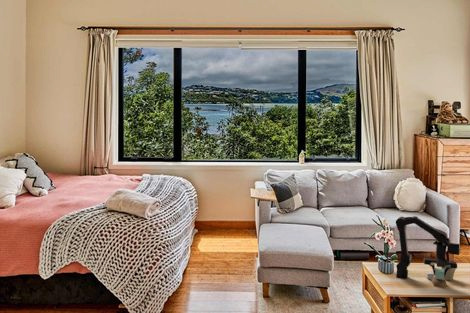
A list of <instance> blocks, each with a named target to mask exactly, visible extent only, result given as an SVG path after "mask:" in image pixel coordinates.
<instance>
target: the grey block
mask: <svg viewBox="0 0 470 313" xmlns="http://www.w3.org/2000/svg"><path fill="white" fill-rule="evenodd" d="M424 273H425V275H424V277H425V279H426V278H427V279H430V281H432V277H435V275H434V272H433V271H427V270H426V271H425V272H424ZM427 279H426V280H427Z"/></svg>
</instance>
